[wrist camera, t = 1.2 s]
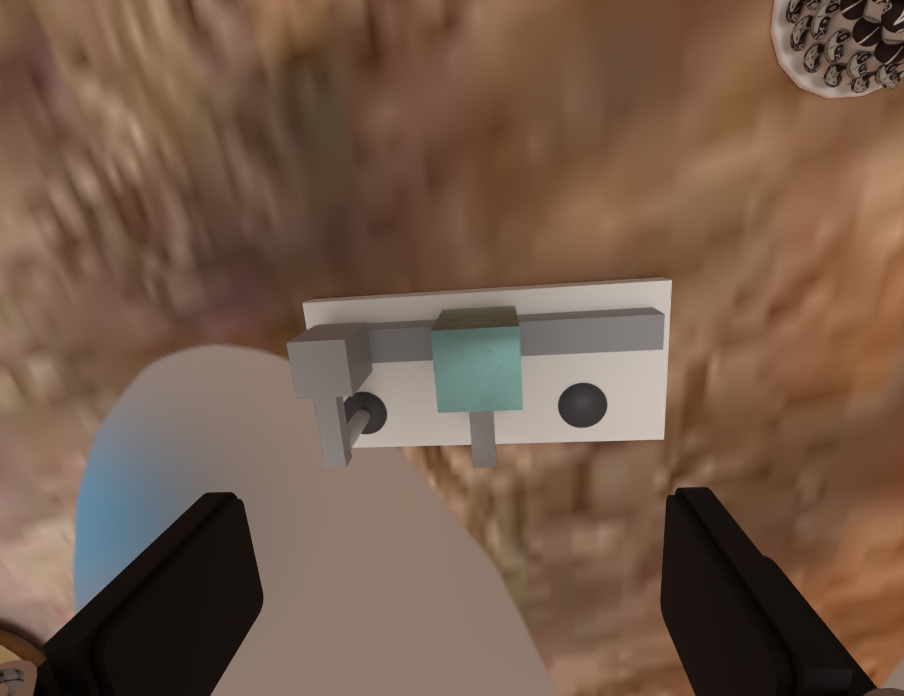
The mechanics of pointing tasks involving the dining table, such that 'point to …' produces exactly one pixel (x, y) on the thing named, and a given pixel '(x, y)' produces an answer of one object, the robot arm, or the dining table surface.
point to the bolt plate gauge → (542, 365)
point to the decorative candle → (840, 44)
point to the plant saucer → (18, 649)
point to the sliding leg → (478, 370)
